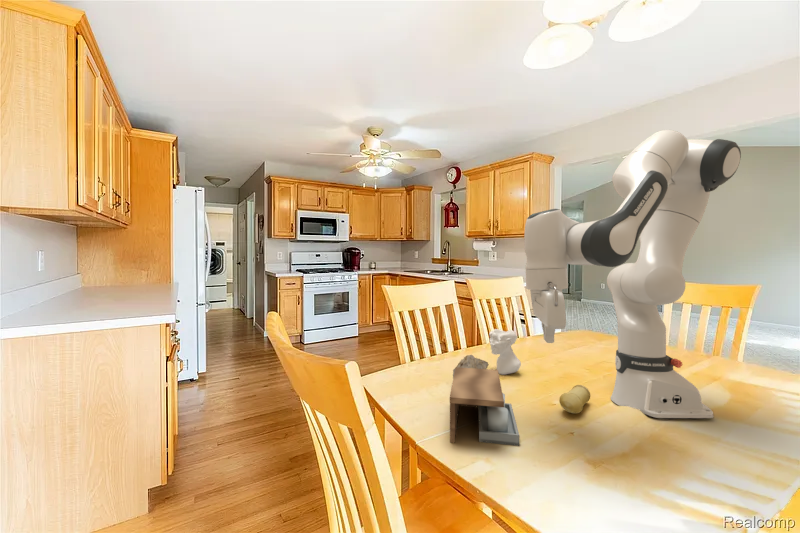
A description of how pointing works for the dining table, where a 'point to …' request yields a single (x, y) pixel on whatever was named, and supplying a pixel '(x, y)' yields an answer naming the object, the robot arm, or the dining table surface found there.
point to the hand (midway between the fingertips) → (548, 341)
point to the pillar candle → (497, 419)
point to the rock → (471, 363)
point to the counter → (473, 392)
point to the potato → (575, 399)
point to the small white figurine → (504, 351)
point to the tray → (498, 437)
